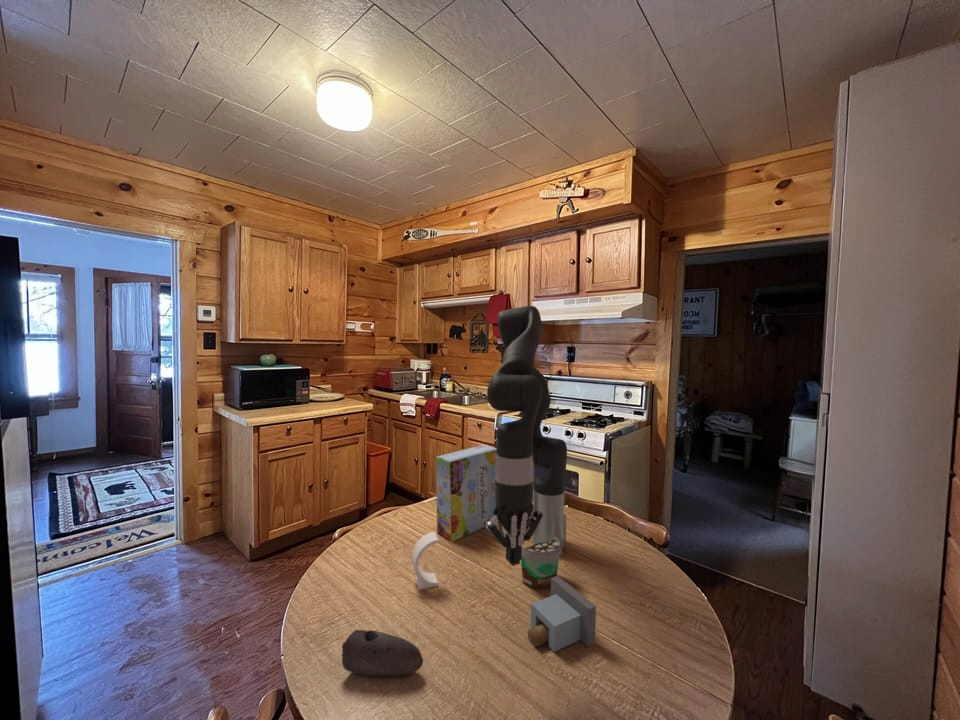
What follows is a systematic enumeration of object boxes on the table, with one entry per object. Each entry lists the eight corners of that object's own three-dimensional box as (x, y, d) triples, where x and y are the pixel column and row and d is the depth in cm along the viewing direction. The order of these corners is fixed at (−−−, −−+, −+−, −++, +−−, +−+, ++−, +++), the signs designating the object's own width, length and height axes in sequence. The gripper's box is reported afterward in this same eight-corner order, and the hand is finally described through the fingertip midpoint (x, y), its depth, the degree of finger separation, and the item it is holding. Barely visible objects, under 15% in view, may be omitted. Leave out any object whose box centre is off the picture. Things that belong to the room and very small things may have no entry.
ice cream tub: (531, 598, 96) (532, 558, 96) (517, 584, 101) (518, 546, 101) (571, 584, 102) (572, 546, 101) (556, 571, 107) (556, 535, 107)
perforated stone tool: (426, 665, 76) (426, 630, 76) (418, 688, 71) (418, 651, 70) (352, 656, 78) (352, 622, 78) (339, 679, 73) (339, 642, 72)
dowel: (557, 627, 86) (557, 613, 86) (567, 636, 84) (567, 622, 83) (527, 640, 83) (527, 625, 82) (537, 651, 80) (537, 635, 80)
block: (556, 616, 89) (556, 594, 89) (580, 639, 82) (580, 615, 82) (530, 627, 86) (531, 603, 86) (554, 652, 79) (554, 626, 79)
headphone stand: (438, 585, 101) (438, 539, 100) (414, 590, 99) (414, 543, 98) (434, 575, 105) (434, 531, 104) (411, 580, 103) (411, 535, 102)
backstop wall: (557, 609, 92) (557, 575, 92) (595, 643, 82) (595, 606, 81) (550, 611, 91) (550, 578, 91) (587, 647, 81) (588, 609, 80)
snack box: (483, 513, 143) (484, 443, 142) (500, 522, 137) (501, 448, 135) (434, 533, 128) (434, 454, 127) (451, 543, 122) (451, 461, 121)
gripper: (530, 466, 84) (529, 546, 84) (475, 476, 77) (475, 562, 78) (553, 477, 77) (552, 563, 78) (495, 489, 71) (494, 583, 71)
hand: (513, 562), depth 78 cm, fingers closed
